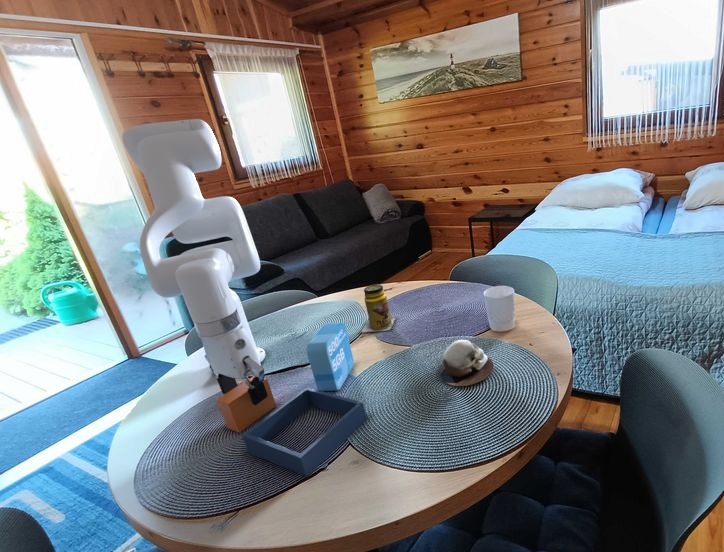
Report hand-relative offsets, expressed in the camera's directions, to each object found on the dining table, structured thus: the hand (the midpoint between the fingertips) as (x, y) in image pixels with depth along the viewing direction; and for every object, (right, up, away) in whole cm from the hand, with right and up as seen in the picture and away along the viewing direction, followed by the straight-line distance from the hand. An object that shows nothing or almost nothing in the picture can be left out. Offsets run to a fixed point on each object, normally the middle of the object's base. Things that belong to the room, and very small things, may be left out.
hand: (245, 395), depth 90 cm
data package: (+16, +1, +11) cm, 19 cm away
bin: (+16, -6, -7) cm, 18 cm away
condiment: (+21, +11, +35) cm, 42 cm away
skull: (+46, +4, +7) cm, 47 cm away
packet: (+1, -5, +1) cm, 5 cm away
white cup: (+56, +12, +25) cm, 62 cm away
